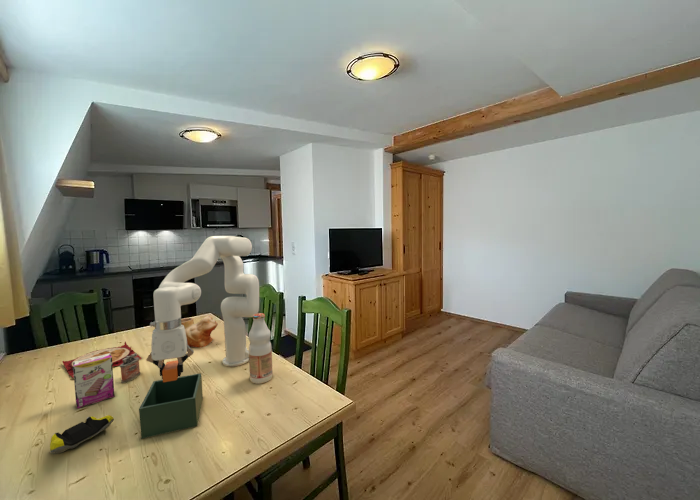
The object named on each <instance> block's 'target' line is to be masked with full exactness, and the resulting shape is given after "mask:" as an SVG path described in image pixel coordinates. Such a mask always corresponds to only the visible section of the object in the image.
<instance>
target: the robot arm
mask: <svg viewBox="0 0 700 500" xmlns="http://www.w3.org/2000/svg"><path fill="white" fill-rule="evenodd" d="M252 251H253V244H252V241H251V239H249V238H247V237H244V236H243V237H241V236H235V235H211V236H208V237H207V238H205V240H204V241H203V242H202V244H201V245H200V246H199V248H198V249H197V250H196V252H195V253H194V254H193V257H191V258H190V259H188V260H187V261H185V262H184V263H181V264H180V265H178V266H177V267H175V268H174V269H172V270H170V272H169V273H167V275H166V276H165V277H164V279H163V280H162V281H161V282H160V284H159V286H158V288H156V289H155V290H154V291H153V293H152V294H153V297H152V298H153V310H154V321H153V322H152V321H151V322H150V323H149V326H150V327H153V328H154V329H153V330H152V334H151V346H150V347H151V350H150V351H151V352H150V353H149V354H148V356H147V357H146V359H145V360H146V362H149V363H152V364H153V365H155V366H156V367H157V368H158V370H159V376H160V377H161V380H163V374H162V371H163V369H164V367H165V365H166V363H165V361H166V360H171V359H173V360H174V359H176V360H178V365H177V370H178V377H181V376H182V373H184V363H185V362H186V361H187V360H188V358H189V357H191V356H193V355H194V353H195V351H194V350H193V348H192V347H189V346H188V344H187V337H186V332H185V328H184V325H182V323H181V319H182V310H181V307H182V306H186V305H191V304H194V303H196V302H197V301H198V300H199V299H200V298H201V295H202V289H201V286H200V285H198V284H197V283H194V282H188V281H189V280H191V279H195V278H198V277H201V276H203V275H206V274H209V273H210V272H212V270H213V269H214V267H215V265H216V264H217V262H218V261H219V260H220V259H221V261H222V262H223V266H224V290H225V292H226V293H227V294H232V295H245V296H227V297H225V298H224V299H222V301H221V303H220V312H221V316H222V321H223V330H224V331H223V332H224V333H223V334H224V349H225V357H224V358H223V359H222V361H221V362H222V365H223V366H225V367H238V366H242V365H245V364H247V363H249V349H248V347H247V332H246V322H245V320H244V318H253V315H254V314H258V313H259V311H260V280H259V278H258V276H257V275H256V274H253V273H244V262H243V259H242V258H241V257H247V256H249V255H250V254H251V253H252Z"/></svg>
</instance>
